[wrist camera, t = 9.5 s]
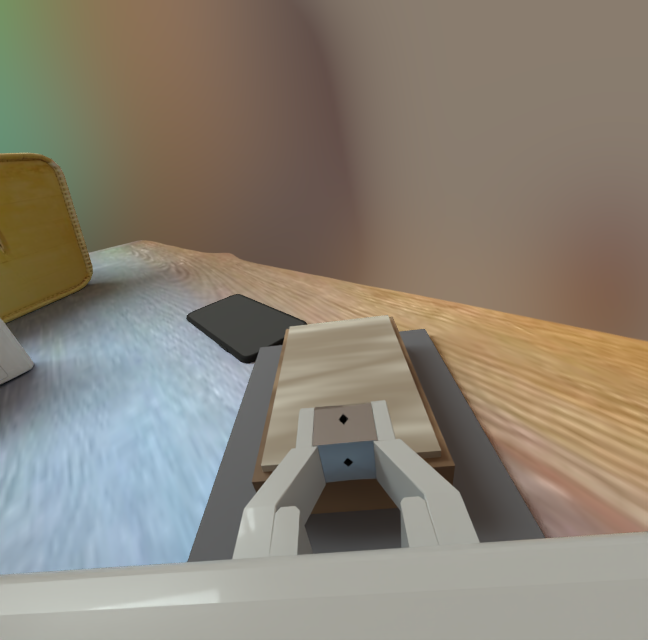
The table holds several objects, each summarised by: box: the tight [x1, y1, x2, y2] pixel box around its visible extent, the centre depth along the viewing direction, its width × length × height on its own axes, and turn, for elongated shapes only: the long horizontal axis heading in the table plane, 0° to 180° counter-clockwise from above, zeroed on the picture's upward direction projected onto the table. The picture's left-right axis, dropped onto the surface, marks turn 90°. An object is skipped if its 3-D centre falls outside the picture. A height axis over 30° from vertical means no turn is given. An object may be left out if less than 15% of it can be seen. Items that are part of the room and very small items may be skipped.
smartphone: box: [187, 294, 307, 363], centre depth 31 cm, size 7×1×15 cm
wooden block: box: [252, 315, 455, 514], centre depth 17 cm, size 3×8×12 cm
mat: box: [187, 329, 545, 562], centre depth 17 cm, size 19×14×1 cm
